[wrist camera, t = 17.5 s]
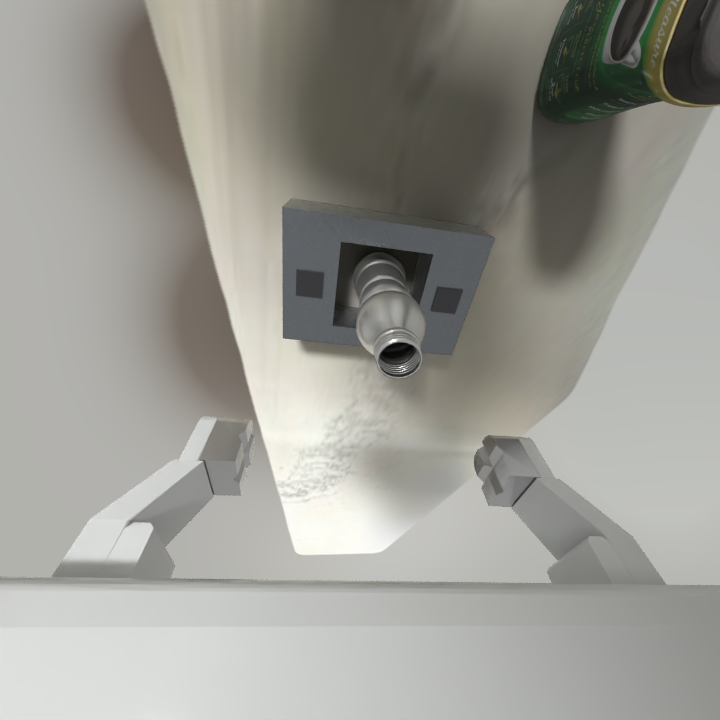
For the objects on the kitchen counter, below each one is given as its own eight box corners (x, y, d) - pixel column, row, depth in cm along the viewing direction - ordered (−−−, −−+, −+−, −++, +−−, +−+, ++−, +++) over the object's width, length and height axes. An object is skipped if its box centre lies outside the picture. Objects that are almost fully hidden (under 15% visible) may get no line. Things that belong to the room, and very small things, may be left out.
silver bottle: (375, 306, 43) (393, 405, 26) (341, 270, 40) (339, 357, 23) (412, 276, 40) (458, 363, 24) (380, 235, 37) (407, 304, 21)
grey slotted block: (291, 198, 35) (282, 207, 30) (475, 225, 37) (495, 238, 32) (290, 316, 43) (282, 339, 38) (440, 332, 45) (451, 356, 40)
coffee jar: (597, 126, 32) (826, 107, 17) (524, 121, 31) (690, 96, 16) (653, -15, 26) (1071, -237, 11) (565, -24, 26) (875, -267, 11)
